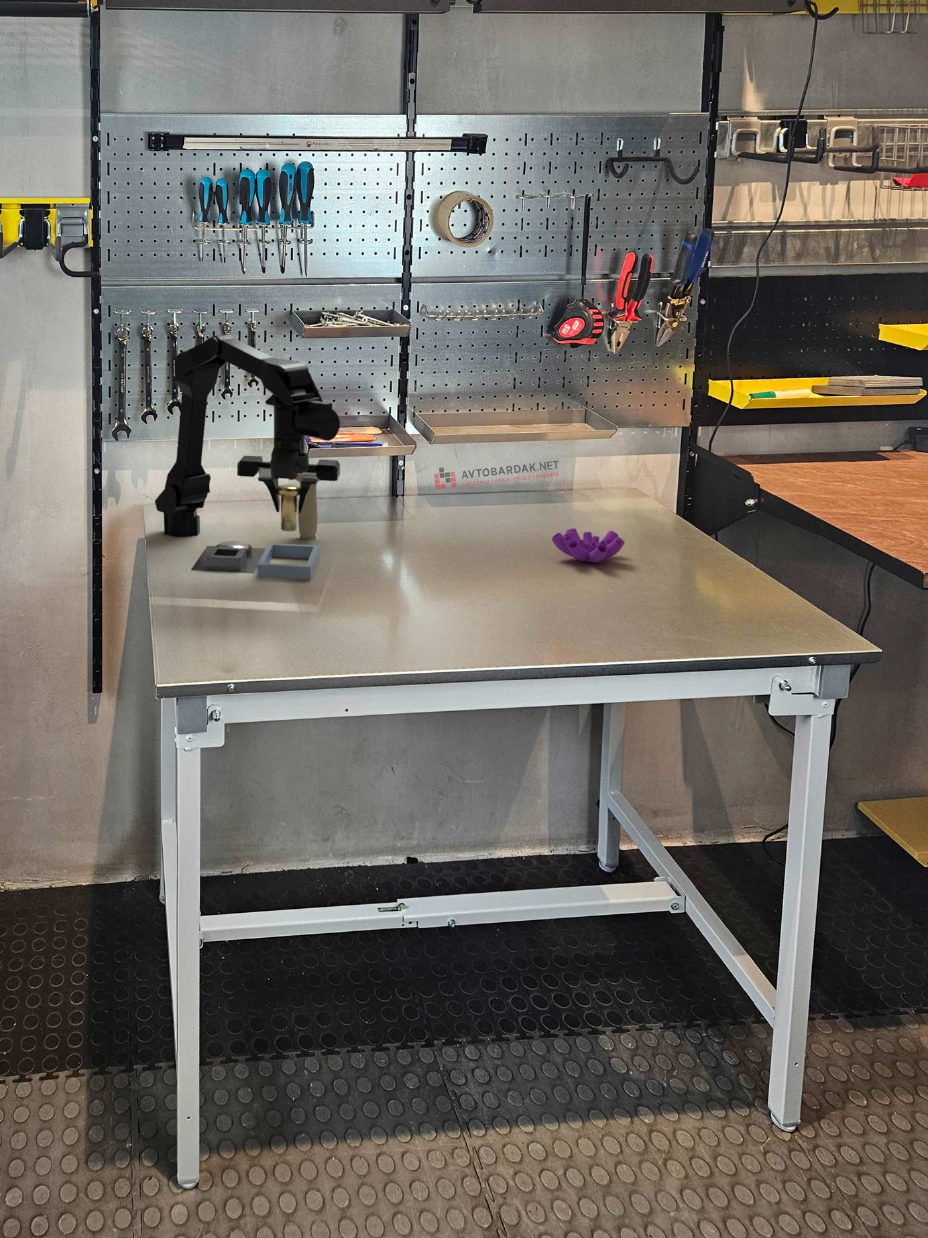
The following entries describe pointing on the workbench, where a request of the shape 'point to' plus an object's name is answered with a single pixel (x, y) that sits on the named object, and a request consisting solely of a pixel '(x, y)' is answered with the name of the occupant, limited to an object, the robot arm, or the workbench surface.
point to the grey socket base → (229, 558)
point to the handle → (308, 513)
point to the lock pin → (288, 506)
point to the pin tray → (287, 569)
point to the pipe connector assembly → (588, 545)
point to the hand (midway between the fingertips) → (288, 512)
